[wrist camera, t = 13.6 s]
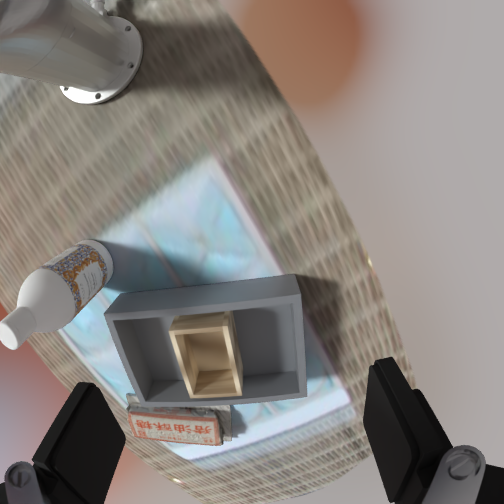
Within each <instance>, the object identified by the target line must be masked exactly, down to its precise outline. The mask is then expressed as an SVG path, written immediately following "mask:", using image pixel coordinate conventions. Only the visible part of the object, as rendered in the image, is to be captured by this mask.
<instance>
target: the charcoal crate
mask: <svg viewBox="0 0 504 504" xmlns="http://www.w3.org/2000/svg"><path fill="white" fill-rule="evenodd" d="M222 311H233V316H234V322H235V327H236V333H237V338H238V343H239V348H240V353H241V359H242V364H243V389H242V396H230V397H213V398H190V396H189V393H188V390H187V387H186V384H185V381H184V378H183V375H182V372H181V369H180V366H179V363H178V360H177V357H176V354H175V351H174V347H173V344H172V341H171V338H170V334H169V329H170V326H171V324H172V322H173V319H174V317H175V316H180V315H192V314H202V313H212V312H222ZM104 316H105V319H106V322H107V325H108V327H109V330H110V333H111V336H112V338H113V341H114V343H115V346H116V349H117V351H118V354H119V356H120V359H121V361H122V363H123V366H124V368H125V371H126V373H127V375H128V378H129V380H130V382H131V384H132V387H133V389H134V391H135V393H136V395H137V398H138V400H139V402H140V404H141V406H146V407H195V406H220V405H236V404H249V403H260V402H269V401H278V400H287V399H294V398H302V397H307V379H306V360H305V343H304V328H303V314H302V300H301V292H300V289H299V286H298V283H297V280H296V277H295V274H289V275H281V276H273V277H265V278H257V279H249V280H241V281H233V282H224V283H215V284H207V285H198V286H189V287H180V288H170V289H161V290H151V291H141V292H131V293H121V294H120V295H119V296H118V297H117V298H116V299H115V301H114V302H113V303H112V304H111V305H110V307H109V308H108V309H107V310H106V312H105V313H104Z"/></svg>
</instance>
